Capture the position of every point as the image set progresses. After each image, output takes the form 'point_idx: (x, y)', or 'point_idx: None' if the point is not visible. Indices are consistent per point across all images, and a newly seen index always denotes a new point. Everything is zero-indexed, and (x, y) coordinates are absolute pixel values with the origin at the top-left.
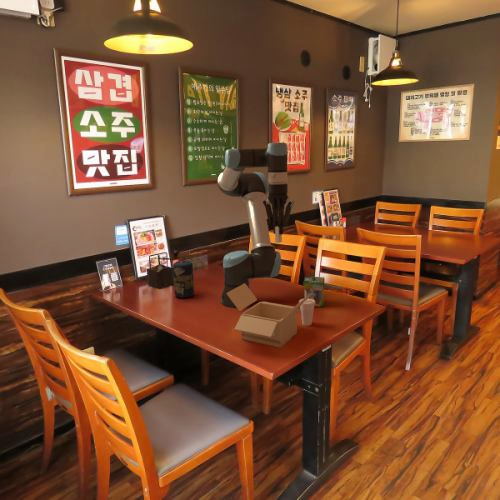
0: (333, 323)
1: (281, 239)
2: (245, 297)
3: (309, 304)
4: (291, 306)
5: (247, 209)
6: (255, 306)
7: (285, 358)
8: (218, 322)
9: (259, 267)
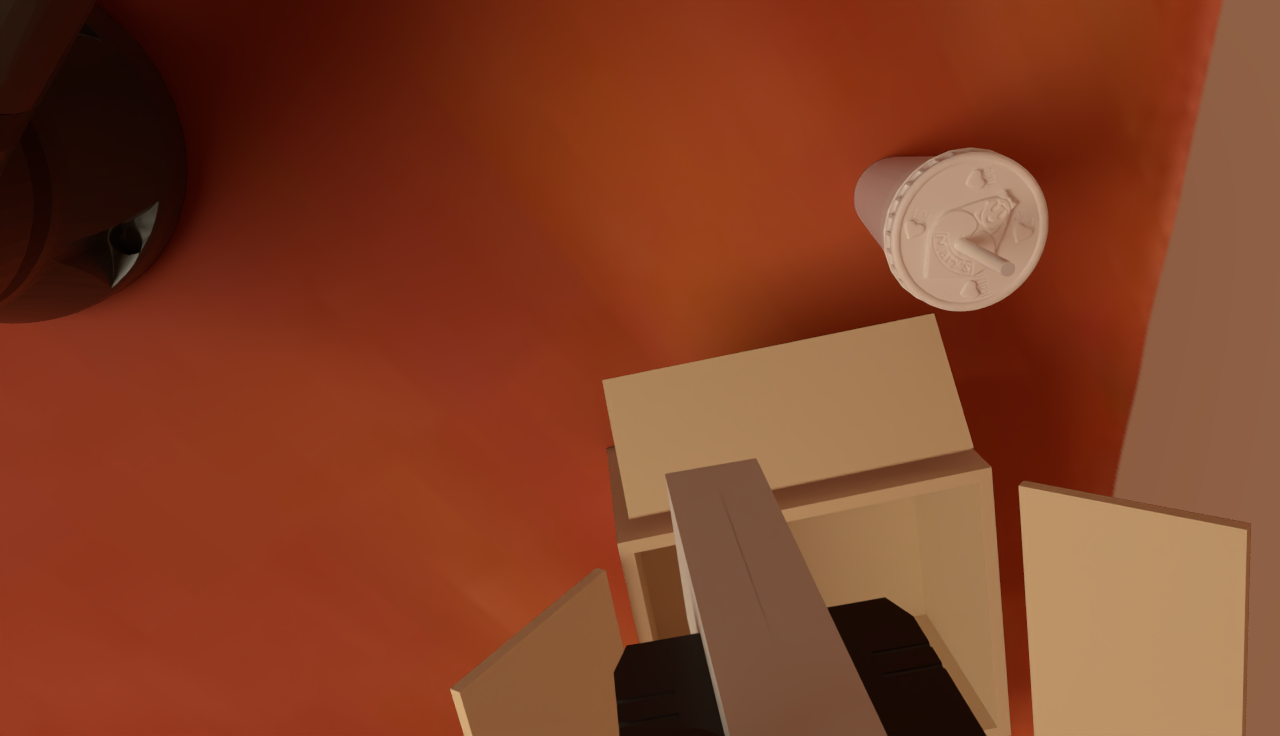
0: (1075, 51)
1: (770, 499)
2: (583, 728)
3: (1018, 276)
4: (926, 456)
5: None
6: (649, 624)
7: (1023, 688)
8: (306, 589)
9: (36, 48)
